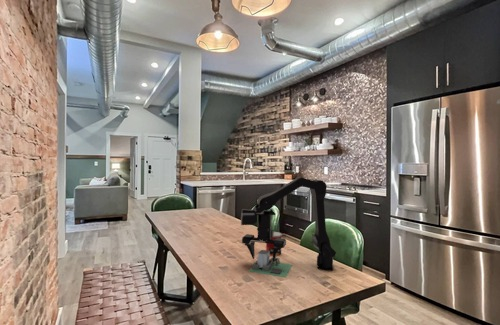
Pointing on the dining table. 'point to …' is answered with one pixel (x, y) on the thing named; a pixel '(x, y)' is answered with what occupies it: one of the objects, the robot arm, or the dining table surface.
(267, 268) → the grey square frame
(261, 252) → the plug
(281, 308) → the dining table surface
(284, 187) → the robot arm
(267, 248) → the canned food
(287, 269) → the board
